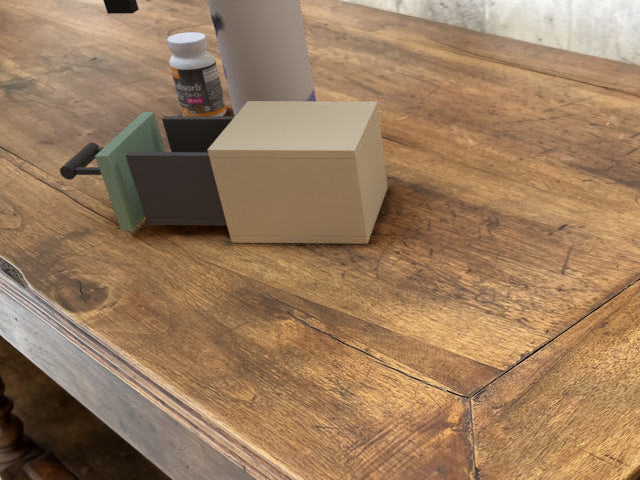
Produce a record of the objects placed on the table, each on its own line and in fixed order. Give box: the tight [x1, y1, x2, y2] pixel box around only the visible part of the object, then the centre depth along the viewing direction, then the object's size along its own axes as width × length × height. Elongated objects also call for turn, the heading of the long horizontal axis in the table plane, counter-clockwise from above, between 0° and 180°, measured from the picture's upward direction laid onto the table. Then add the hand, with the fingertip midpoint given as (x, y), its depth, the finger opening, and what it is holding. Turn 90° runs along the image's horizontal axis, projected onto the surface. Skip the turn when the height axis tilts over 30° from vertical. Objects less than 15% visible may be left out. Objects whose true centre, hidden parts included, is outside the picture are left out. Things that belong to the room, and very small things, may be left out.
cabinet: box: [208, 100, 388, 245], centre depth 80 cm, size 14×13×10 cm
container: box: [207, 0, 317, 116], centre depth 94 cm, size 10×10×20 cm
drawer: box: [59, 111, 235, 232], centre depth 81 cm, size 18×11×8 cm, turn 88°
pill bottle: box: [166, 31, 227, 116], centre depth 103 cm, size 6×6×10 cm
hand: (123, 11), depth 83 cm, fingers closed
